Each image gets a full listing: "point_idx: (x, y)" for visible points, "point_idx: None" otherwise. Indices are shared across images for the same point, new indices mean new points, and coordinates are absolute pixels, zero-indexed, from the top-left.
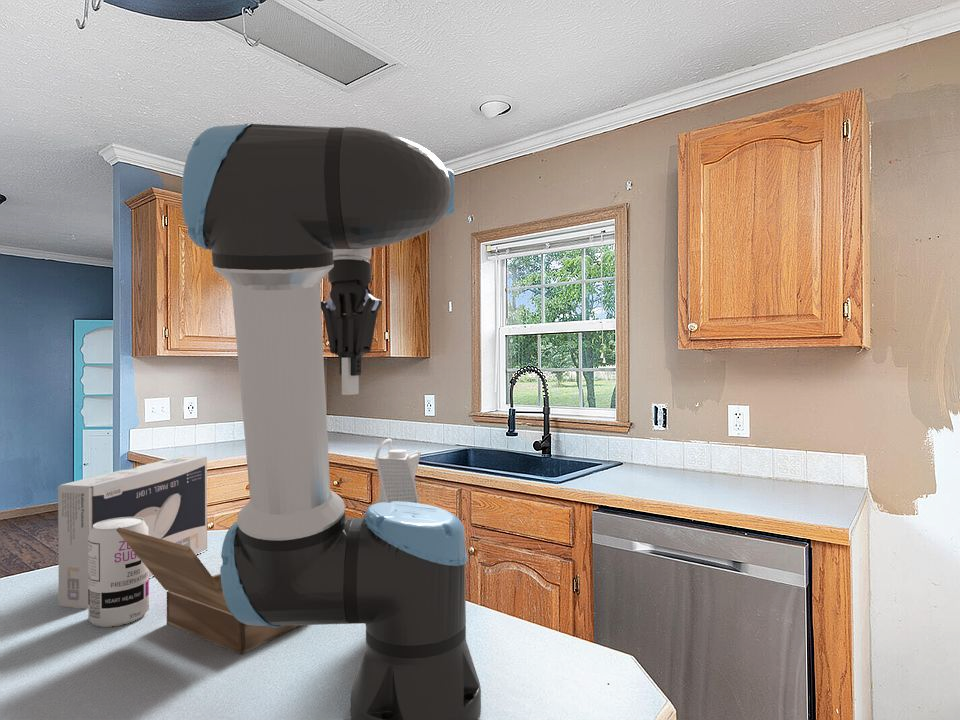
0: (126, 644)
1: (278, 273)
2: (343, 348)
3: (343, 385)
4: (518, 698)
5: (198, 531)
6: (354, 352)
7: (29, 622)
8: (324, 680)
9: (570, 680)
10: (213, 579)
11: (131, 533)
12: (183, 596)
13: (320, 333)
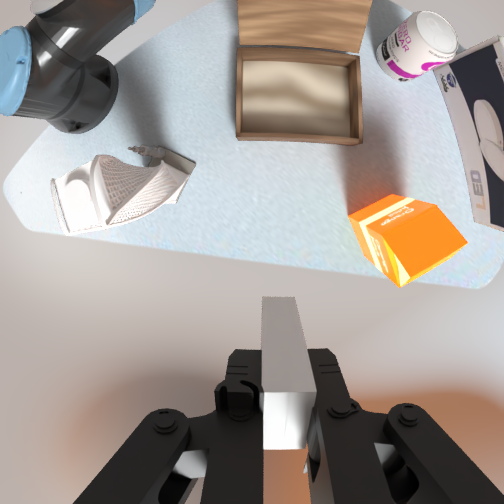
0: None
1: None
2: (322, 445)
3: (288, 313)
4: (45, 144)
5: (486, 210)
6: (215, 424)
7: None
8: (151, 74)
9: (33, 181)
10: (237, 5)
11: None
12: (334, 54)
13: None
